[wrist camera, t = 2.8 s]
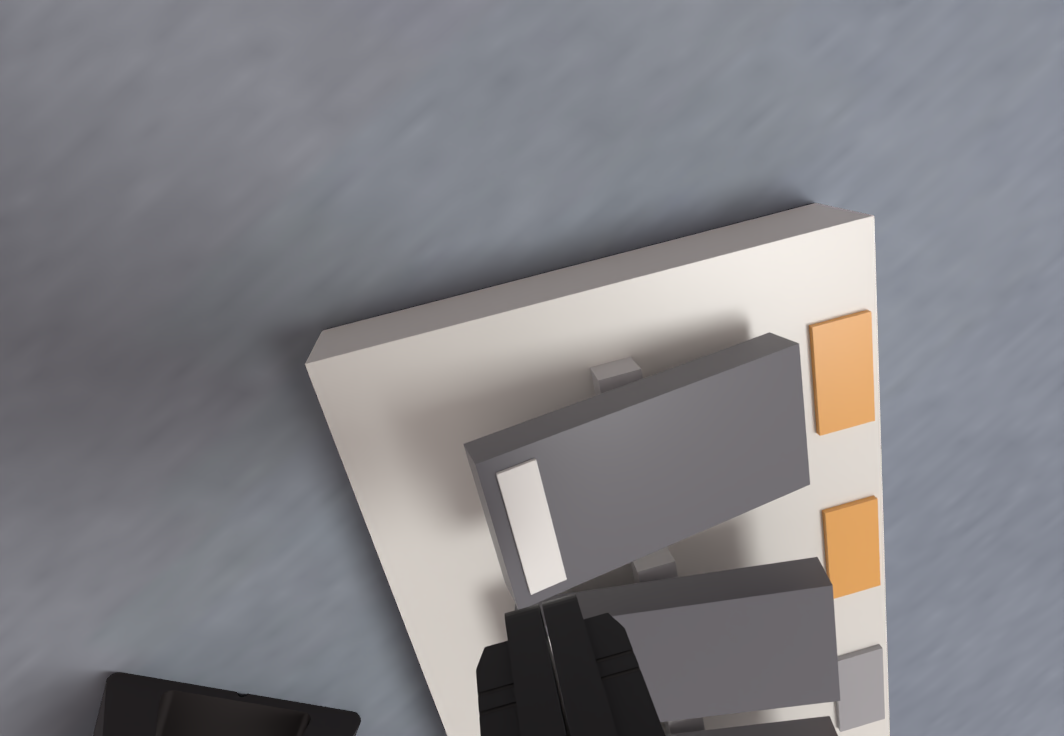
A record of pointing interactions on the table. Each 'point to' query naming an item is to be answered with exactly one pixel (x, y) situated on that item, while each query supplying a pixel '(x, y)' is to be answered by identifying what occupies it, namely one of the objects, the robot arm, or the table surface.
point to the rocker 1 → (642, 466)
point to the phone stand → (209, 712)
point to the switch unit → (594, 368)
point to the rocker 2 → (728, 637)
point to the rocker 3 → (774, 729)
